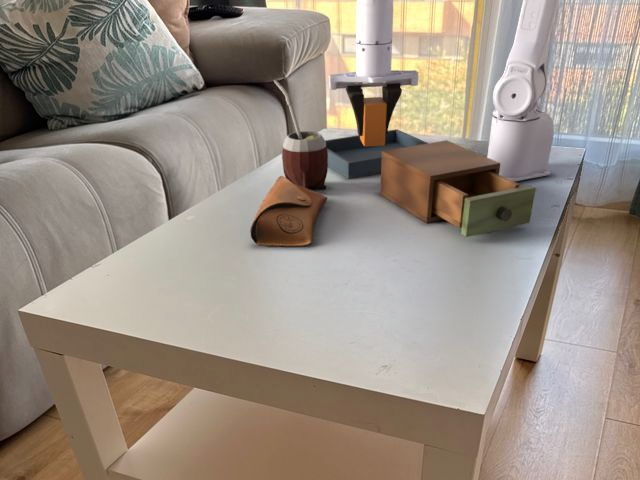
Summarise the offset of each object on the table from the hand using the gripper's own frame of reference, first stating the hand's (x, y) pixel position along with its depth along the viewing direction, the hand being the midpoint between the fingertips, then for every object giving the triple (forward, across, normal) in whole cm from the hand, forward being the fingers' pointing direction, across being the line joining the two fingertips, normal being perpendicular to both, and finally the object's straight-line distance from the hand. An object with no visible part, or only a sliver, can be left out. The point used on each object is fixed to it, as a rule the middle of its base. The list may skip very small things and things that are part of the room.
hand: (372, 133), depth 109 cm
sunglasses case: (+4, -16, -27) cm, 31 cm away
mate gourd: (+4, -13, -13) cm, 19 cm away
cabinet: (+4, +6, -22) cm, 23 cm away
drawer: (+3, +9, -31) cm, 33 cm away
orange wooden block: (+1, 0, 0) cm, 1 cm away
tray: (+4, 0, 0) cm, 4 cm away
